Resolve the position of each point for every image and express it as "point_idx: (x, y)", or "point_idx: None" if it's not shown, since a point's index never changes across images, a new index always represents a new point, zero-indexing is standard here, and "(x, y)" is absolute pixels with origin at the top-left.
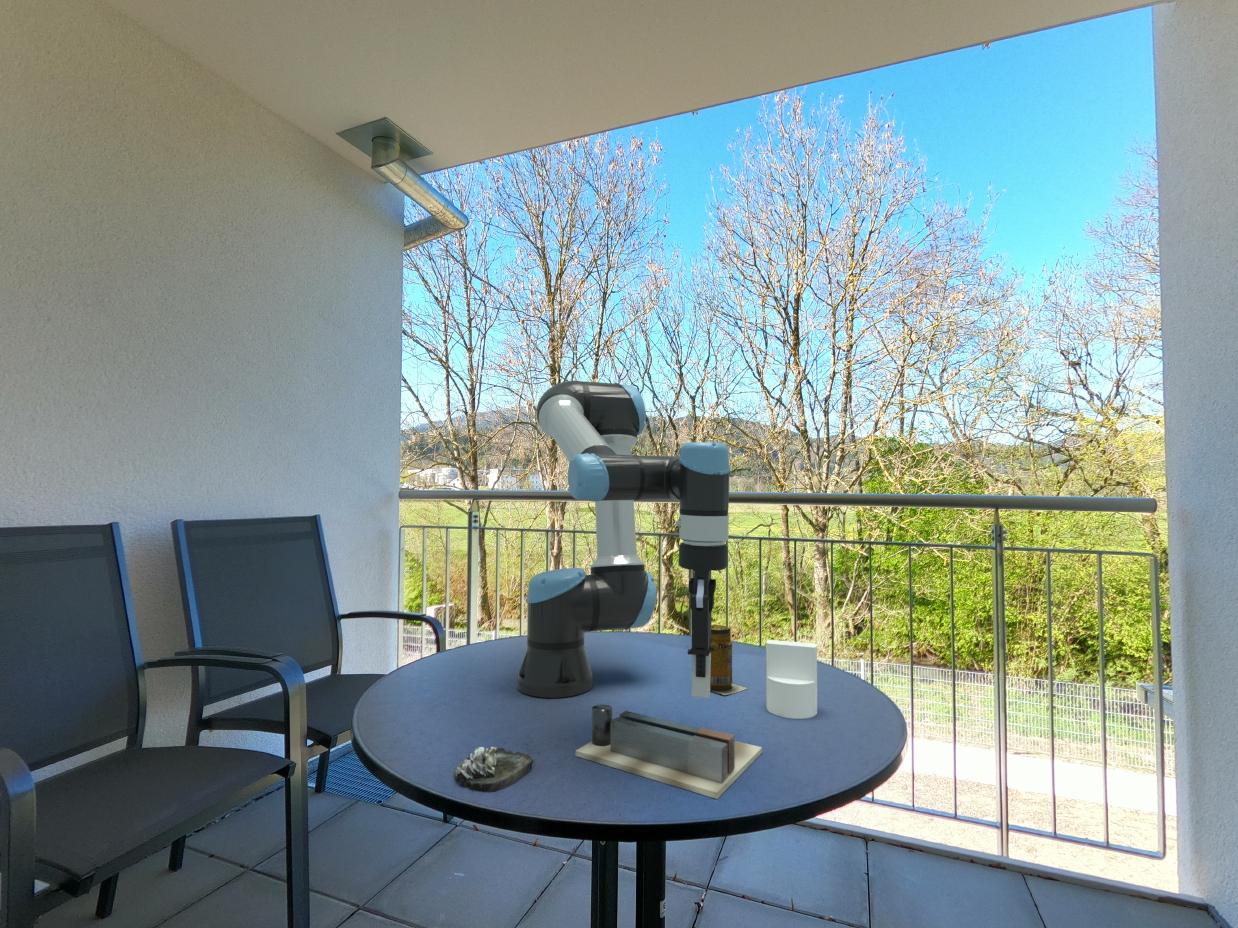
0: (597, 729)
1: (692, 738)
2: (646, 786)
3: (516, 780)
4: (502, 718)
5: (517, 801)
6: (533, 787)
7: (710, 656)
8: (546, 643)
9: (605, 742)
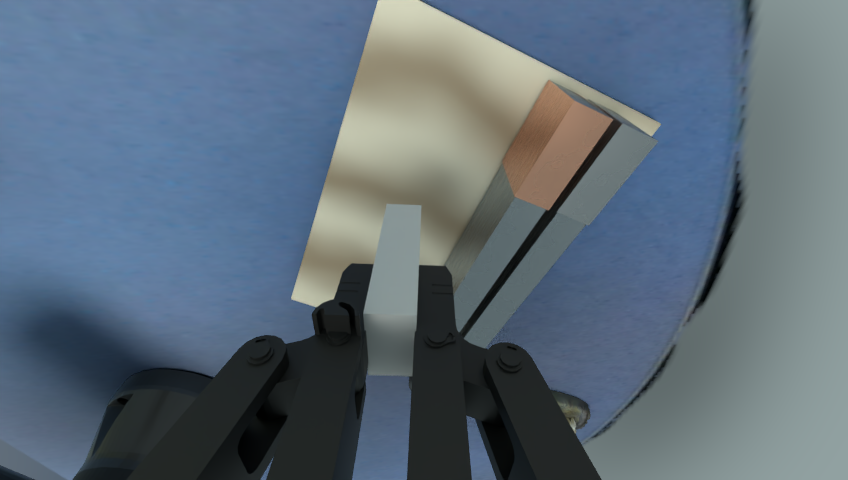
0: None
1: (578, 215)
2: (584, 249)
3: (559, 392)
4: (360, 434)
5: (616, 381)
6: (578, 375)
7: (377, 300)
8: None
9: None
